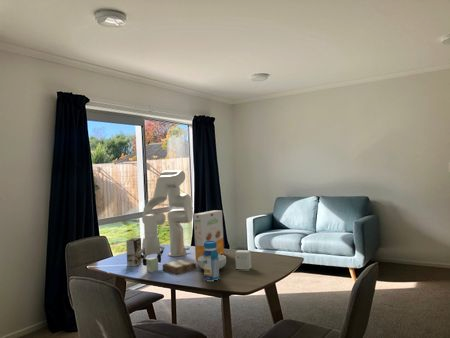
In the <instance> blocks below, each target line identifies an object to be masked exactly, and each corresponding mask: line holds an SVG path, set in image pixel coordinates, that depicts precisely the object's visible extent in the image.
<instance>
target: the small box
mask: <svg viewBox="0 0 450 338" xmlns="http://www.w3.org/2000/svg"><path fill="white" fill-rule="evenodd" d="M234 256H235V257H234V258H235V259H234V260H235V270H236V269H250V268H251V267H252V252H251V250H249V249H248V250H247V249H237V250H236V251H235V252H234ZM251 269H252V268H251ZM251 269H250V270H251Z"/></svg>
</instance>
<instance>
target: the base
mask: <svg viewBox="0 0 450 338" xmlns="http://www.w3.org/2000/svg"><path fill="white" fill-rule="evenodd" d="M194 269H195V270H197V264H196V263H195V262H193V261H189V260H186V259H178V260H174V261H169V262H165V263H164V264H162V271H164V272H167V273H171V274H173V275H180V274H184V273H188V272H190V270H191V271H194ZM187 271H188V272H187Z"/></svg>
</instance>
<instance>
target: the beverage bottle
mask: <svg viewBox="0 0 450 338" xmlns="http://www.w3.org/2000/svg"><path fill="white" fill-rule="evenodd" d="M216 247H217V244H216V241H206V242H204V249H205V251H204V253H203V257H204V258H203V263H204V269H203V280H204V281H205V280H207V281H206V282H215V281H214V280H217V281H219V280H220V269H219V262H218V261H219V258H218V252H217V250H216V249H215V248H216ZM218 279H219V280H218Z"/></svg>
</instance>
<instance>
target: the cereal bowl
mask: <svg viewBox="0 0 450 338" xmlns="http://www.w3.org/2000/svg"><path fill="white" fill-rule="evenodd" d="M203 258H204V257H203V256H201V257H199V258H198V261H197V264H198V266H199V267H200V268H201V269H202V270H204V263H203ZM218 258H219V261H218V262H219V270H220V269H222V268H224V267H225V266H226V263H227V256H226V255H224V254H222V255H220V254H218Z"/></svg>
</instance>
